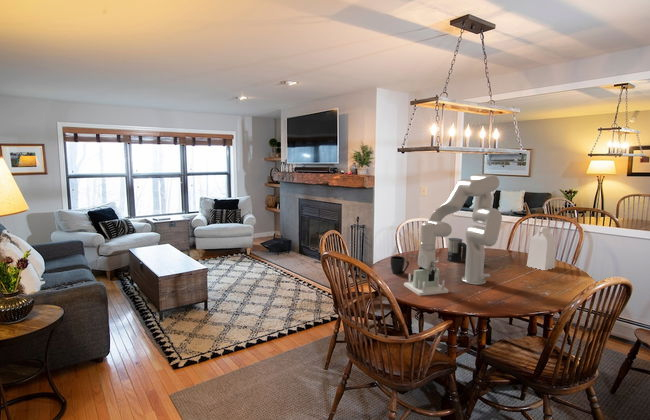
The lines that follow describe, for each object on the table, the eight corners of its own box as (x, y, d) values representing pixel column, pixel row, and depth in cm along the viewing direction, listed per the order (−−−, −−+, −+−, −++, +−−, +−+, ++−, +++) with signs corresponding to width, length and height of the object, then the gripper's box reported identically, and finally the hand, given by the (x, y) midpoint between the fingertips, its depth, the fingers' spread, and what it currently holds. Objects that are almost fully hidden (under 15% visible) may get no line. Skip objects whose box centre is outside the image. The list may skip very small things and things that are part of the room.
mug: (403, 277, 218) (403, 261, 217) (387, 272, 227) (387, 257, 226) (412, 275, 223) (412, 259, 222) (396, 270, 233) (396, 255, 231)
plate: (415, 288, 197) (415, 271, 196) (413, 286, 199) (413, 270, 197) (438, 285, 201) (439, 269, 200) (436, 284, 203) (437, 268, 202)
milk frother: (444, 260, 256) (445, 239, 254) (454, 256, 268) (455, 235, 266) (465, 264, 247) (466, 242, 245) (474, 260, 258) (476, 238, 256)
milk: (536, 263, 251) (540, 224, 248) (554, 268, 242) (558, 227, 238) (526, 266, 245) (530, 226, 241) (544, 270, 235) (548, 229, 232)
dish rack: (431, 282, 210) (431, 271, 209) (448, 292, 195) (449, 280, 194) (403, 285, 205) (404, 273, 204) (419, 295, 190) (419, 283, 189)
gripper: (412, 243, 204) (411, 274, 206) (430, 250, 188) (428, 284, 190) (425, 242, 206) (423, 272, 209) (443, 249, 190) (441, 282, 192)
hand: (426, 278), depth 199 cm, fingers open, 9 cm apart
